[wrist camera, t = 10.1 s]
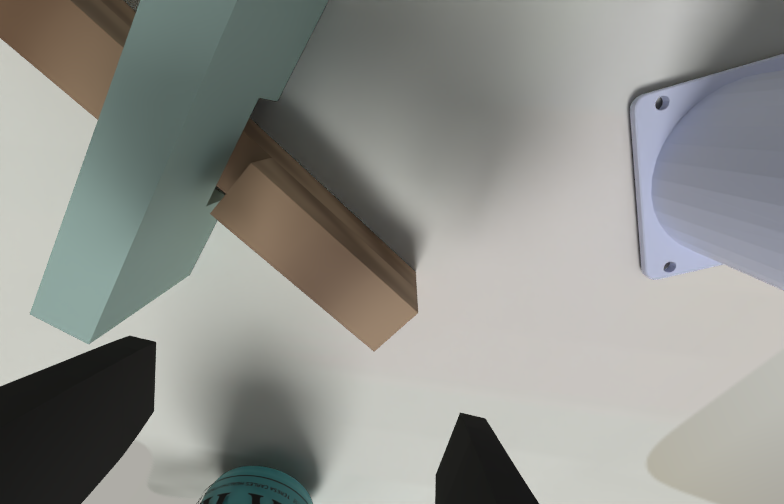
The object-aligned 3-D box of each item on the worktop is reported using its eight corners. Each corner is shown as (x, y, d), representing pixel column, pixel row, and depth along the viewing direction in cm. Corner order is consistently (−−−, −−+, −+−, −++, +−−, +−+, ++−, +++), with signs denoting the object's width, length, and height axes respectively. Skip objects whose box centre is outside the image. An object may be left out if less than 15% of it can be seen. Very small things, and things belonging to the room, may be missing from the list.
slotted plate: (286, -44, 13) (199, -168, 8) (333, -10, 14) (281, -104, 8) (151, 253, 18) (29, 314, 12) (189, 274, 18) (88, 344, 12)
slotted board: (1, -31, 14) (-150, -89, 10) (29, -88, 13) (-122, -172, 10) (381, 304, 18) (373, 351, 14) (415, 272, 17) (418, 313, 14)
